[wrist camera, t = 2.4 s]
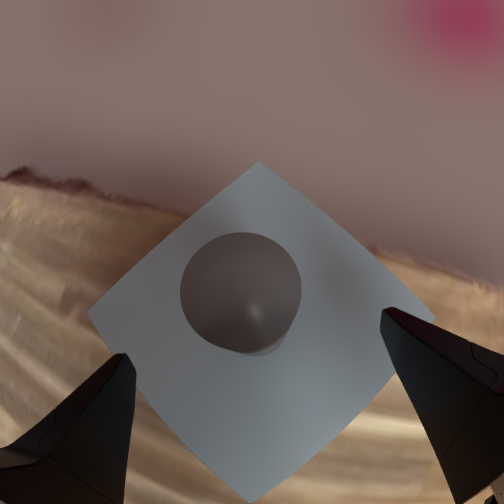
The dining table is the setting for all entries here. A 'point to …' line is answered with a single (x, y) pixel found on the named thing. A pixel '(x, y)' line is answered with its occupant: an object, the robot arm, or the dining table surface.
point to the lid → (255, 330)
